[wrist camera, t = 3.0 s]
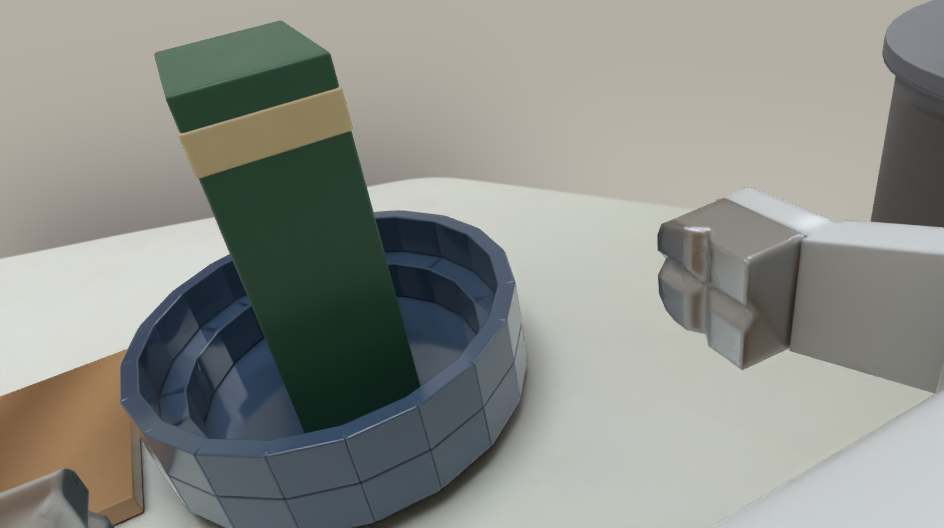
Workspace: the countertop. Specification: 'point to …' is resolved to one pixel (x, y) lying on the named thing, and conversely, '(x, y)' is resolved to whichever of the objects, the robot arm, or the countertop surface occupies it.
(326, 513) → the bowl
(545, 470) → the countertop surface
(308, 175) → the tea packet
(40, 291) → the countertop surface
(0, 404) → the cork mat
